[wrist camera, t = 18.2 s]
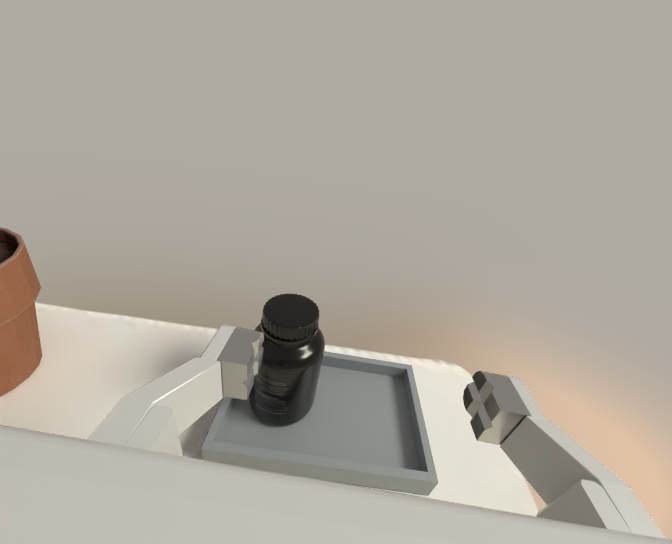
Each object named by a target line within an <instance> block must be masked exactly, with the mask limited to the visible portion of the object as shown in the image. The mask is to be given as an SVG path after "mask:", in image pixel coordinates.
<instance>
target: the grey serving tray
mask: <svg viewBox="0 0 672 544" xmlns="http://www.w3.org/2000/svg"><path fill="white" fill-rule="evenodd" d="M201 452H202V458H203V460H208V461H213V462H219V463H225V464H231V465H237V466H242V467H248V468H254V469H260V470H266V471H272V472H278V473H283V474H289V475H295V476H301V477H307V478H313V479H319V480H324V481H330V482H337V483H344V484H351V485H358V486H365V487H372V488H379V489H386V490H394V491H401V492H408V493H415V494H422V495H429V494H430V493H431V491H432V490H433V489H434V487H435V486H436V485H437V484H438V480H437V475H436V471H435V466H434V462H433V458H432V453H431V449H430V444H429V440H428V436H427V431H426V427H425V422H424V418H423V414H422V409H421V405H420V400H419V396H418V392H417V387H416V383H415V378H414V374H413V370H412V365H406V364H400V363H394V362H387V361H381V360H375V359H368V358H362V357H356V356H350V355H343V354H337V353H331V352H325V351H324V354H323V359H322V364H321V369H320V374H319V379H318V384H317V389H316V394H315V398H314V402H313V405H312V407H311V409H310V411H309V412H308V414H307V415H306V416H305V417H304V418H303V419H301V420H300V421H298V422H296V423H294V424H292V425H288V426H272V425H269V424H266V423H264V422H262V421H261V420H260V419H258V418H257V417H256V416H255V414H254V413H253V411H252V409H251V406H250V402H249V396H248V399H247V400H243V399H237V398H230V397H224V398H223V400H222V403H221V405H220V407H219V409H218V412H217V414H216V416H215V418H214V421H213V423H212V425H211V427H210V429H209V432H208V434H207V436H206V438H205V441H204V443H203V445H202V447H201Z"/></svg>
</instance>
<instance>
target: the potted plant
mask: <svg viewBox="0 0 672 544" xmlns="http://www.w3.org/2000/svg"><path fill="white" fill-rule="evenodd" d="M40 289H41V286H40V284H39V281H38V278H37V276H36V273H35V270H34V268H33V265H32V263H31V260H30V257H29V254H28V252H27V249H26V247H25V244H24V242H23V240H22V237H21V236H20V235H18V234H16V233H14V232H12V231H10V230H8V229H5V228H0V396H2V395H4V394H5V393H7V392H9V391H11V390H13V389H14V388H16V387H17V386H18V385H19V384H21V383H22V382H23V381H24V380H26V379H27V378H28V377H30V375H31V374H32V373H33V372H34V370H35V369H36V368H37V367H38V366H39V363H40V360H41V357H42V352H41V345H40V338H39V331H38V324H37V317H36V310H35V303H34V301H35V300H36V298H37V296H38V293H39V291H40Z"/></svg>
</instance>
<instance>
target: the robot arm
mask: <svg viewBox="0 0 672 544" xmlns="http://www.w3.org/2000/svg"><path fill="white" fill-rule="evenodd" d="M263 341H264V333H263V332H259V331H253V330H249V329H244V328H239V327H233V326H228V325H222V326H221V327H220V328H219V330H218V331H217V333H216V334H215V336H214V337H213V339H212V340H211V342H210V343H209V345H208V346H207V348H206V349H205V351H204V352H203V354H202V356H201V357H200V358H199V357H195V358H193V359H191V360H190V361H188V362H186V363H184V364H182V365H181V366H179V367H177V368H175V369H173V370H172V371H170V372H168V373H166V374H164V375H162V376H161V377H159V378H157V379H155V380H153V381H152V382H150V383H148V384H146V385H144V386H143V387H141V388H139V389H137V390H135V391H134V392H132V393H130V394H128V395H126V396H124V397H123V398H122V399H121V400H120V401H119V402H118V403H117V405H116V406H115V407H114V408H113V409H112V411H111V412H110V413H109V414H108V415H107V417H106V418H105V419H104V420H103V421H102V423H101V424H100V425H99V426H98V427H97V429H96V430H95V431H94V432H93V433H92V434H91V436H90V437H89V438H88V439H87V440H85V439H80V438H74V437H68V436H62V435H56V434H50V433H45V432H39V431H33V430H27V429H21V428H15V427H10V426H4V425H0V544H672V540H669V539H666V538H665V537H664V535H663V534H662V532H661V531H660V529H659V528H658V527H657V525H656V524H655V522H654V521H653V520H652V518H651V517H650V515H649V514H648V513H647V511H646V510H645V509H644V507H643V506H642V504H641V503H640V501H639V500H638V499H637V498H636V496H635V494H634V493H633V492H632V490H631V489H630V487H629V486H628V485H626V484H625V483H624V482H623V481H622V480H620V479H619V478H618V477H617V476H616V475H615V474H613V473H612V472H611V471H610V470H609V469H607V468H606V467H605V466H604V465H603V464H602V463H600V462H599V461H598V460H597V459H596V458H595V457H593V456H592V455H591V454H590V453H589V452H587V451H586V450H585V449H584V448H583V447H582V446H580V445H579V444H578V443H577V442H576V441H574V440H573V439H572V438H571V437H570V436H569V435H567V434H566V433H565V432H564V431H563V430H561V429H560V428H559V427H558V426H557V425H556V424H554V423H553V422H552V421H551V420H547V419H545V417H544V415H543V413H542V412H541V410H540V408H539V407H538V405H537V404H536V402H535V400H534V399H533V397H532V395H531V394H530V392H529V390H528V389H527V387H526V385H525V384H524V382H523V381H522V380H521V379H520V378H517V377H511V376H504V375H500V374H494V373H488V372H482V371H478V372H476V373H475V374H474V376H473V377H472V378H473V381H474V382H472V383H470V384H468V385H467V387H466V388H465V390H464V396H463V400H464V405H465V408H466V411H467V412H468V413H469V414H470V415H471V416H472V419H471V422H470V423H471V425H472V428H473V431H474V434H475V437H476V439H477V441H482V442H487V443H492V444H497V445H501V446H500V447H501V448H502V450H503V451H504V452H505V453H506V455H507V456H508V457H509V458H510V460H511V461H512V462H513V463H514V465H515V466H516V467H517V468H518V469H519V471H520V472H521V473H522V474H523V476H524V477H525V478H526V479H527V481H528V482H529V483H530V484H531V486H532V487H533V488H534V489H535V491H536V492H537V493H538V494H539V496H540V497H541V498H542V499H543V500H544V502H545V503H546V504H547V506H546V507H544V508H543V509H542V510H540V511H539V512H538V514H537V517H535V516H529V515H523V514H517V513H511V512H505V511H500V510H494V509H488V508H482V507H476V506H470V505H465V504H459V503H453V502H447V501H441V500H435V499H430V498H424V497H418V496H412V495H406V494H401V493H395V492H389V491H383V490H377V489H371V488H366V487H360V486H354V485H348V484H342V483H336V482H330V481H324V480H319V479H313V478H307V477H301V476H295V475H289V474H283V473H278V472H272V471H266V470H260V469H254V468H248V467H242V466H237V465H231V464H225V463H219V462H213V461H208V460H202V459H196V458H190V457H184V456H183V452H182V448H181V443H180V439H179V435H180V434H181V433H182V432H183V431H184V430H186V429H187V428H188V427H189V426H190V425H192V424H193V423H194V422H195V421H196V420H197V419H199V418H200V417H201V416H202V415H203V414H205V413H206V412H207V411H208V410H209V409H210V408H212V407H213V406H214V405H215V404H216V403H218V402H219V401H220V400H221V399H222V398H223V397H230V398H237V399H243V400H247V399H248V396H249V394H250V391H251V389H252V386H253V384H254V376H255V375H256V374H257V373H258V371H259V368H260V365H261V362H262V357H263V347H262V346H261V345H262V343H263Z"/></svg>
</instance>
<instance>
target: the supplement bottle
mask: <svg viewBox="0 0 672 544" xmlns="http://www.w3.org/2000/svg"><path fill="white" fill-rule="evenodd" d="M318 320H319V310H318V307H317V306H316V304H315V303H314V302H313V301H312V300H310V299H309V298H306V297H304V296H301V295H297V294H281V295H278V296H275V297H272V298H271V299H270V300H268V302H266V304H265V305H264V309H263V316H262V320H261V323H260V324H259V325H258V326H257V327H256V329H255V330H254V331H259V332H263V333H264V341H263V343H262V345H261V346H262V347H263V357H262V362H261V365H260V368H259V371H258V373H257V374H256V375H255V376H254V384H253V386H252V389H251V391H250V394H249V402H250V406H251V409H252V411H253V413H254V414H255V416H256V417H257V418H258V419H260V420H261V421H262V422H264V423H266V424H269V425H272V426H288V425H292V424H294V423H296V422H298V421H300V420H301V419H303V418H304V417H305V416H306V415H307V414H308V412H309V411H310V409H311V407H312V405H313V402H314V398H315V394H316V389H317V384H318V379H319V374H320V369H321V364H322V359H323V354H324V348H325V341H324V337H323V334H322V332H321V330H320V329H319V328H318Z"/></svg>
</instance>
